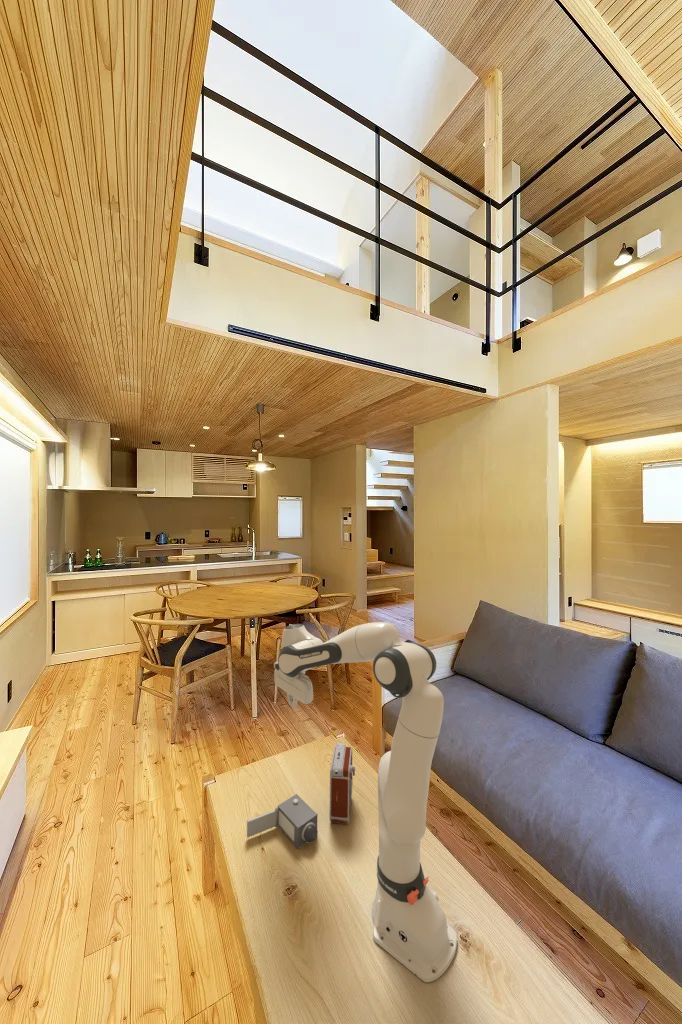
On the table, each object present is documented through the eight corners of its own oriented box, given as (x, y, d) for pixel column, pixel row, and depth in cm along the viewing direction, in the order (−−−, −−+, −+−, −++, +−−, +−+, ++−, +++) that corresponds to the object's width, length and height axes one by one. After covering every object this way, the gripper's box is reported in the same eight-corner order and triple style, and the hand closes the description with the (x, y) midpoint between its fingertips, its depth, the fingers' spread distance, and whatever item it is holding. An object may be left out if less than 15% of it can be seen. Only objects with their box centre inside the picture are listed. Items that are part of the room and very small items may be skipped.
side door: (247, 839, 123) (247, 821, 123) (246, 836, 124) (246, 818, 124) (278, 826, 128) (278, 809, 128) (277, 824, 129) (277, 807, 129)
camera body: (321, 839, 124) (321, 817, 124) (302, 854, 119) (302, 831, 118) (296, 813, 135) (296, 792, 135) (277, 825, 129) (277, 804, 129)
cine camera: (355, 785, 148) (356, 736, 148) (352, 827, 129) (353, 770, 128) (332, 784, 149) (333, 734, 149) (326, 825, 130) (326, 768, 129)
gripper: (317, 675, 132) (317, 714, 132) (285, 657, 147) (284, 692, 147) (303, 681, 128) (303, 721, 128) (271, 662, 143) (271, 697, 143)
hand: (293, 705), depth 138 cm, fingers closed
